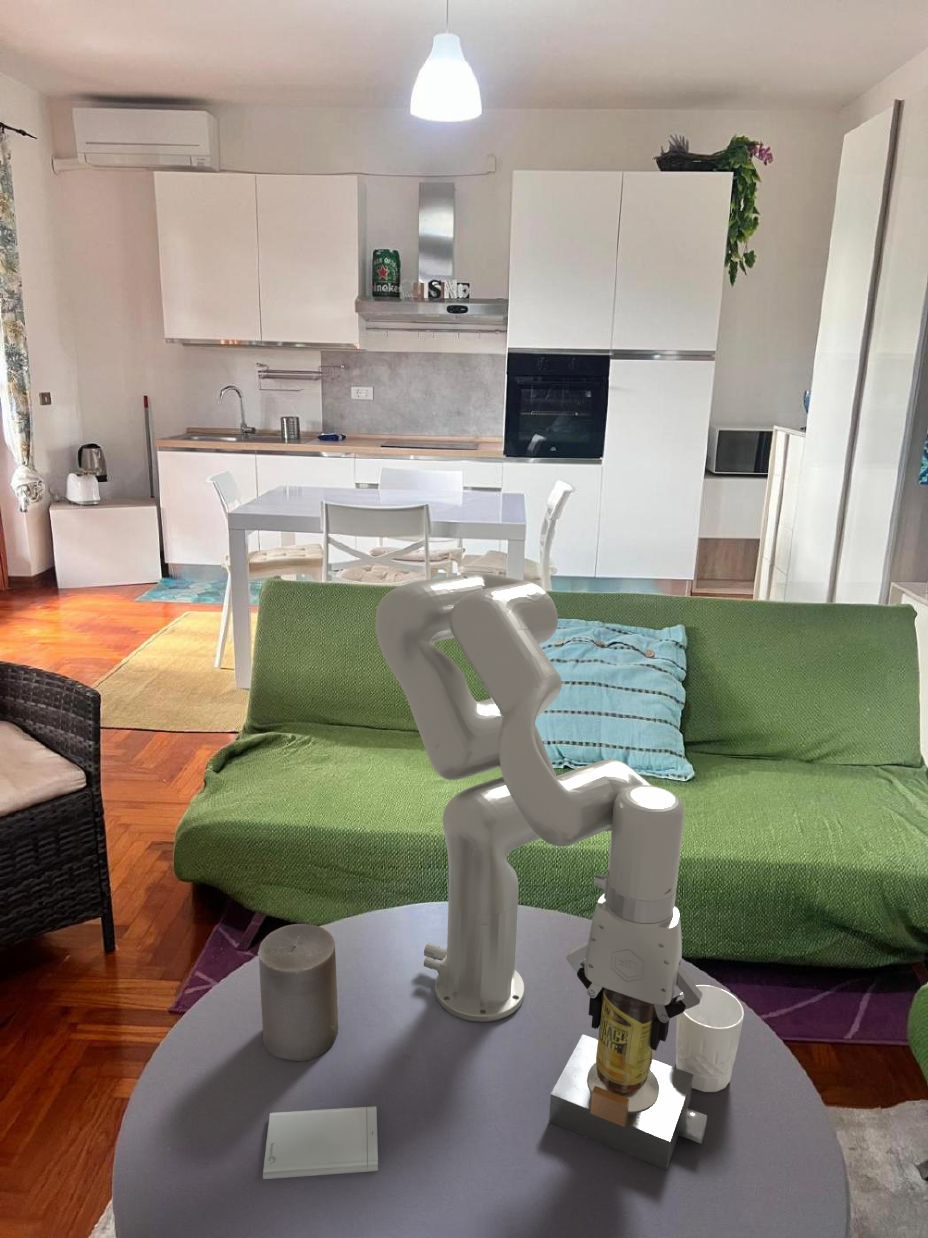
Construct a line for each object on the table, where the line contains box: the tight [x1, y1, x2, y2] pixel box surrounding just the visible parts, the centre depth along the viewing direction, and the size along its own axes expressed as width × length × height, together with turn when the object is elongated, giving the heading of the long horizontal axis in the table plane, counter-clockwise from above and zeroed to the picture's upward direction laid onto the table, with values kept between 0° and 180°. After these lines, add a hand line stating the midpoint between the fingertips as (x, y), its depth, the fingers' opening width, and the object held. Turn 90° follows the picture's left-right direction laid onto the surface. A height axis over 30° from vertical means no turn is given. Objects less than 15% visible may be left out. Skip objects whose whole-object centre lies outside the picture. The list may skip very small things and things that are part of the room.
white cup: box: [675, 984, 745, 1093], centre depth 113 cm, size 8×8×10 cm
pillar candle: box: [257, 923, 339, 1062], centre depth 117 cm, size 10×10×15 cm
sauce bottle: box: [596, 988, 656, 1093], centre depth 104 cm, size 7×6×20 cm
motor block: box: [548, 1034, 708, 1171], centre depth 107 cm, size 17×12×7 cm
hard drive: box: [262, 1106, 379, 1180], centre depth 103 cm, size 2×8×12 cm
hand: (627, 1030), depth 105 cm, fingers closed on sauce bottle, 6 cm apart
